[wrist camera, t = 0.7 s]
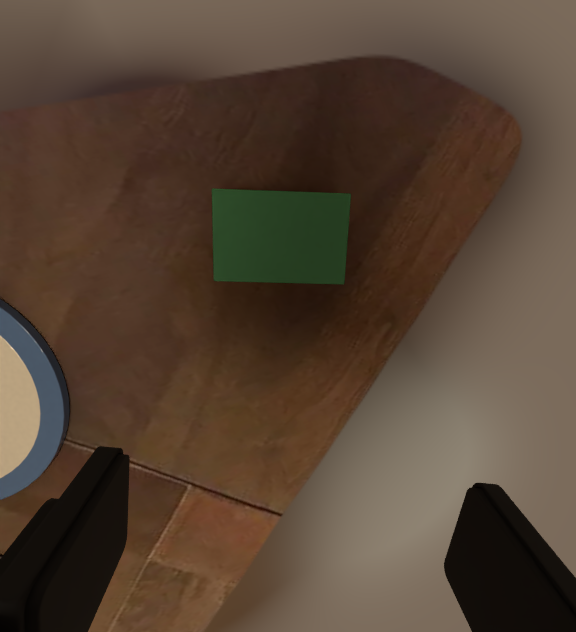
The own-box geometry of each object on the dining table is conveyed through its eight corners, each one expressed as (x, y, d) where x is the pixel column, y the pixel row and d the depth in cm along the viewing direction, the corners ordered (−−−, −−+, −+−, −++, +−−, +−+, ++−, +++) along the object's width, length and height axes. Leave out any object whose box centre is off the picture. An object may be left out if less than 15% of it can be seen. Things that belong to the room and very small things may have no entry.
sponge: (222, 270, 25) (213, 281, 21) (221, 192, 24) (211, 188, 20) (333, 273, 25) (344, 284, 21) (338, 196, 24) (351, 193, 20)
